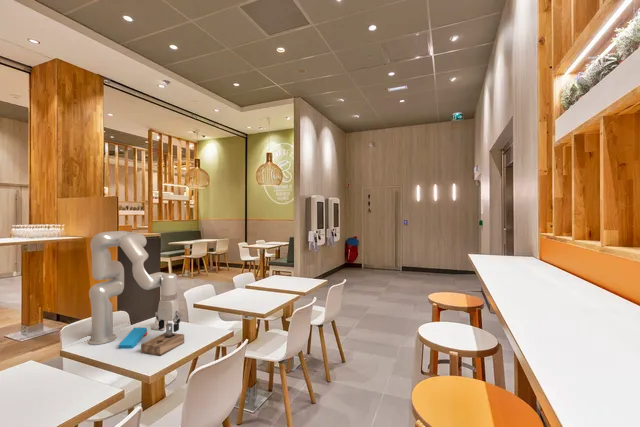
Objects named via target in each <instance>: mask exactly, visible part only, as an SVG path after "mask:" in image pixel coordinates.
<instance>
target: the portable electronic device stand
mask: <svg viewBox="0 0 640 427" xmlns="http://www.w3.org/2000/svg"><path fill="white" fill-rule="evenodd" d="M168 323H170V321H167V320H164V328H163V329H160V330H159V327H157V325H158V324H159V322H158V320H157V318H156V317H155V319H154V323H153V325H151V326H150V330H153V331H155V330H156V331H163V332H164V331H166V324H168Z"/></svg>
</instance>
